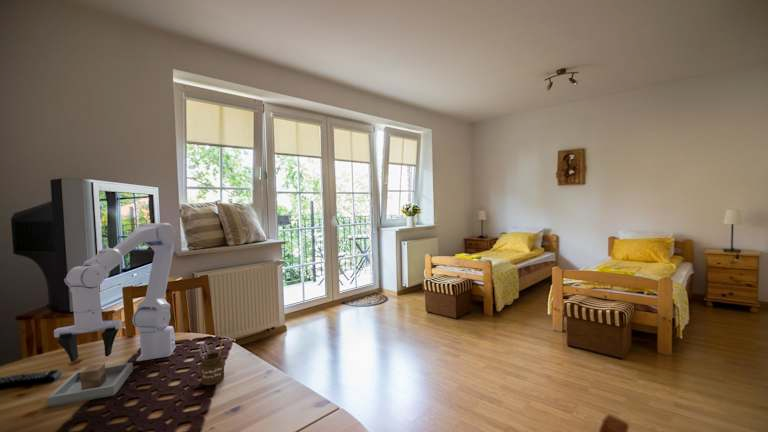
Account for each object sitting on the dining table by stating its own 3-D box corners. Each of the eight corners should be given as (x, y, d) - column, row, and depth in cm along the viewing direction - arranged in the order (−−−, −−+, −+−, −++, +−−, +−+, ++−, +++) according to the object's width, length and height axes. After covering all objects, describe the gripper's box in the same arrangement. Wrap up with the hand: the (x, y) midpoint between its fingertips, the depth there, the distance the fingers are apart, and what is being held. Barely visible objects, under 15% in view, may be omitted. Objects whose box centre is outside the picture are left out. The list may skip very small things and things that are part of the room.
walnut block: (106, 380, 97) (104, 363, 97) (99, 387, 94) (98, 370, 93) (89, 383, 96) (87, 366, 96) (81, 390, 92) (80, 372, 92)
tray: (133, 370, 104) (132, 362, 104) (114, 395, 91) (113, 386, 90) (76, 380, 99) (75, 371, 99) (47, 407, 86) (46, 398, 86)
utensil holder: (201, 378, 98) (198, 337, 97) (225, 372, 101) (222, 332, 100) (200, 388, 93) (197, 345, 92) (226, 381, 96) (223, 340, 95)
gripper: (45, 318, 88) (50, 369, 88) (113, 310, 92) (117, 358, 93) (60, 309, 94) (64, 357, 95) (123, 302, 99) (126, 348, 100)
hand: (91, 357), depth 95 cm, fingers open, 7 cm apart
